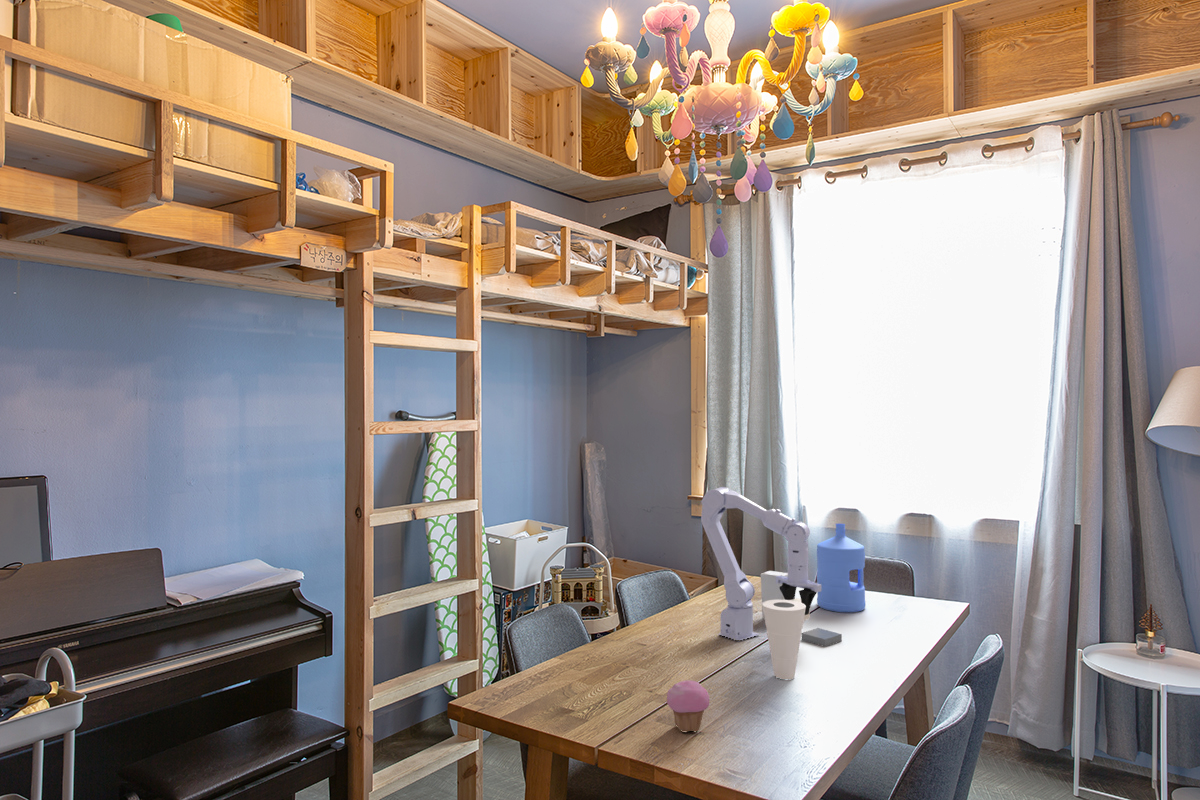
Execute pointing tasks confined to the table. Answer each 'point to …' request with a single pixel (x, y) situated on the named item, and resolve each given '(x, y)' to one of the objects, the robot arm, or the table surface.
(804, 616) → the block
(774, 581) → the skincare box
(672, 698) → the cupcake
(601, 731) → the table surface
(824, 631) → the base
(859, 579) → the water jug
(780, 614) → the cup
